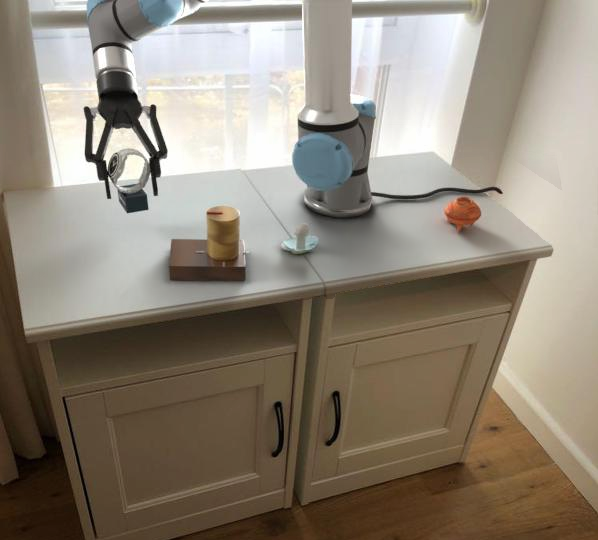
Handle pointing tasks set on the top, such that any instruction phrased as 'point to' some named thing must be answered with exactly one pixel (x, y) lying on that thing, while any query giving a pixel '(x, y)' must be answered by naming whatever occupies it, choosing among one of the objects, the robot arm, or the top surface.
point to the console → (203, 262)
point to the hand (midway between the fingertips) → (132, 194)
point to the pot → (462, 212)
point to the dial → (223, 232)
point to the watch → (129, 194)
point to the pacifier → (300, 241)
